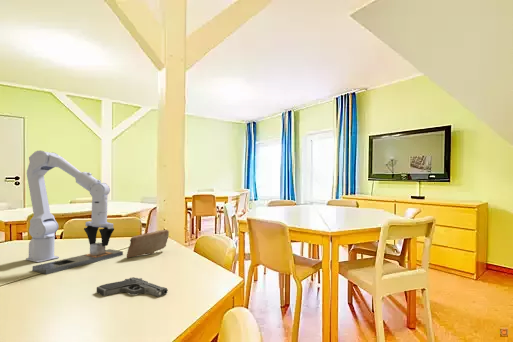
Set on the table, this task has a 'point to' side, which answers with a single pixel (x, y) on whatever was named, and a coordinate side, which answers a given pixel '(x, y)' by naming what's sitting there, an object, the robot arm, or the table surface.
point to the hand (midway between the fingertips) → (98, 244)
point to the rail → (74, 262)
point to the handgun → (132, 287)
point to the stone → (147, 243)
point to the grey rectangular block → (97, 249)
